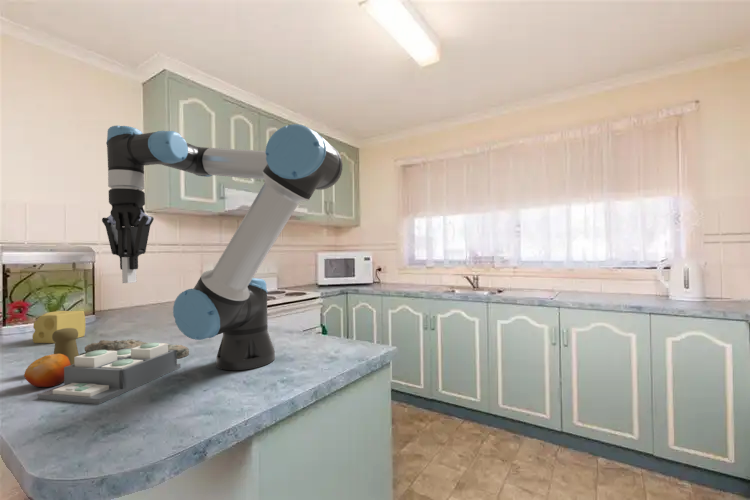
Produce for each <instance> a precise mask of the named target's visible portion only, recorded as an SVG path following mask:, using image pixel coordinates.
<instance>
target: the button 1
mask: <svg viewBox="0 0 750 500" xmlns="http://www.w3.org/2000/svg"><path fill="white" fill-rule="evenodd" d="M74 359H75V366H76V367H94V368H95V367H98V366H101V365H104V364H107V363H110V362H113V361H116V360H117V351H108V350H96V351H91V352H88V353H86V352H85V353H84V354H81V355H80V354H79V356H76V357H74Z"/></svg>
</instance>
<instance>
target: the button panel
mask: <svg viewBox="0 0 750 500" xmlns="http://www.w3.org/2000/svg"><path fill="white" fill-rule="evenodd" d="M124 349H132V348H124ZM124 349H121V350H124ZM118 351H120V350H118ZM123 359H133V360H143V362H140V363H138V364H135V365H132V366H129V367H127V368H124V369H111V368H101V367H102V366H105V365H108V364H111V363H113V362H115V361H113V362H110V363H107V364H104V365H101V366H98V367H95V368H94V367H76V366H75V364H73V365H70V366H66V367H64V382H63V383H64V384H63V385H61V386H57V387H54V388H52V389H49V390H45V391H43V392H41V393H38V394H37V399H38V400H47V401H48V400H49V401H57V402H68V403H69V402H70V403H71V402H72V403H85V404H95V405H101V404H103V403H104V402H106V401H109V400H112V399H113V398H116V397H118V396H120V395H123V394H124V393H127V392H129V391H132V390H133V389H136V388H138V387H140V386H142V385H145V384H147V383H149V382H151V381H154V380H157V379H158V378H160V377H163V376H165V375H167V374H169V373H171V372H175V371H176V370H178V369H180V368H181V366H182V365H181V363H178V361H177V359H178V358H177V351H176V350H168V352H167V353H164V354H162V355H159V356H156V357H154V358H151V359H142V358H131V356H128V357H125V358H122V357H117V360H116V361H118V360H123Z"/></svg>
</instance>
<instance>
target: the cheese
mask: <svg viewBox="0 0 750 500" xmlns="http://www.w3.org/2000/svg"><path fill="white" fill-rule="evenodd" d="M64 328H75V329H77V331H78V337H77V339H78V338H83V337H85V336H86V335H85V334H86V315H85V311H84V310H57V311H51V312H46V313H43V314H42V315H40V316H39V317H38V318H37V320H34V322H33V330H34V332H33V333H32V342H33V343H34V344H55V342H54V341H53V339H52V335H53V333H54V332H55V331H57V330H60V329H64Z"/></svg>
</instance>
